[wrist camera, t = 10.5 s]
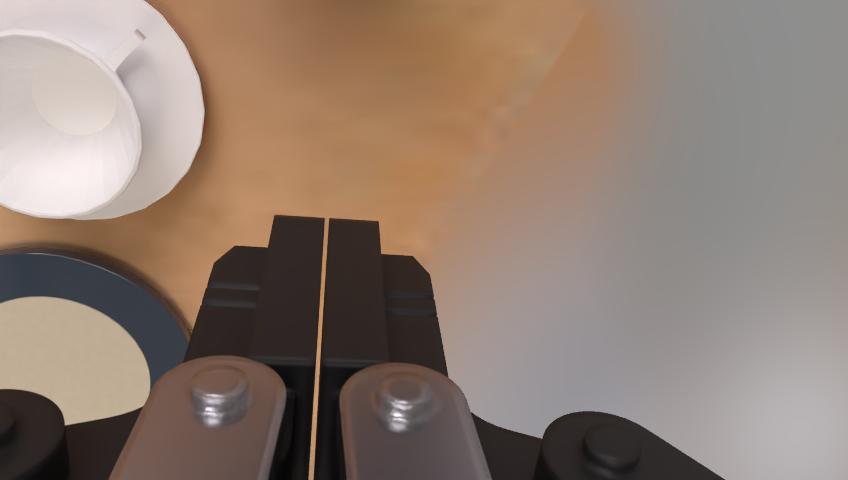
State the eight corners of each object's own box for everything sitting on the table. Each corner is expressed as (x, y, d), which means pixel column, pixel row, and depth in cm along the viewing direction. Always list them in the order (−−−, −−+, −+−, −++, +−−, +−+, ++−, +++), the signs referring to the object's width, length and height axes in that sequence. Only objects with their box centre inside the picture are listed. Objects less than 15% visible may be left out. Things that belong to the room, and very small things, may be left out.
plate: (-59, 460, 46) (-71, 478, 45) (-109, 232, 39) (-124, 245, 38) (203, 466, 48) (199, 483, 47) (198, 249, 41) (194, 262, 40)
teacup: (258, 72, 37) (246, 107, 32) (126, 250, 41) (97, 305, 36) (18, -104, 33) (-37, -94, 28) (-106, 113, 37) (-173, 154, 32)
